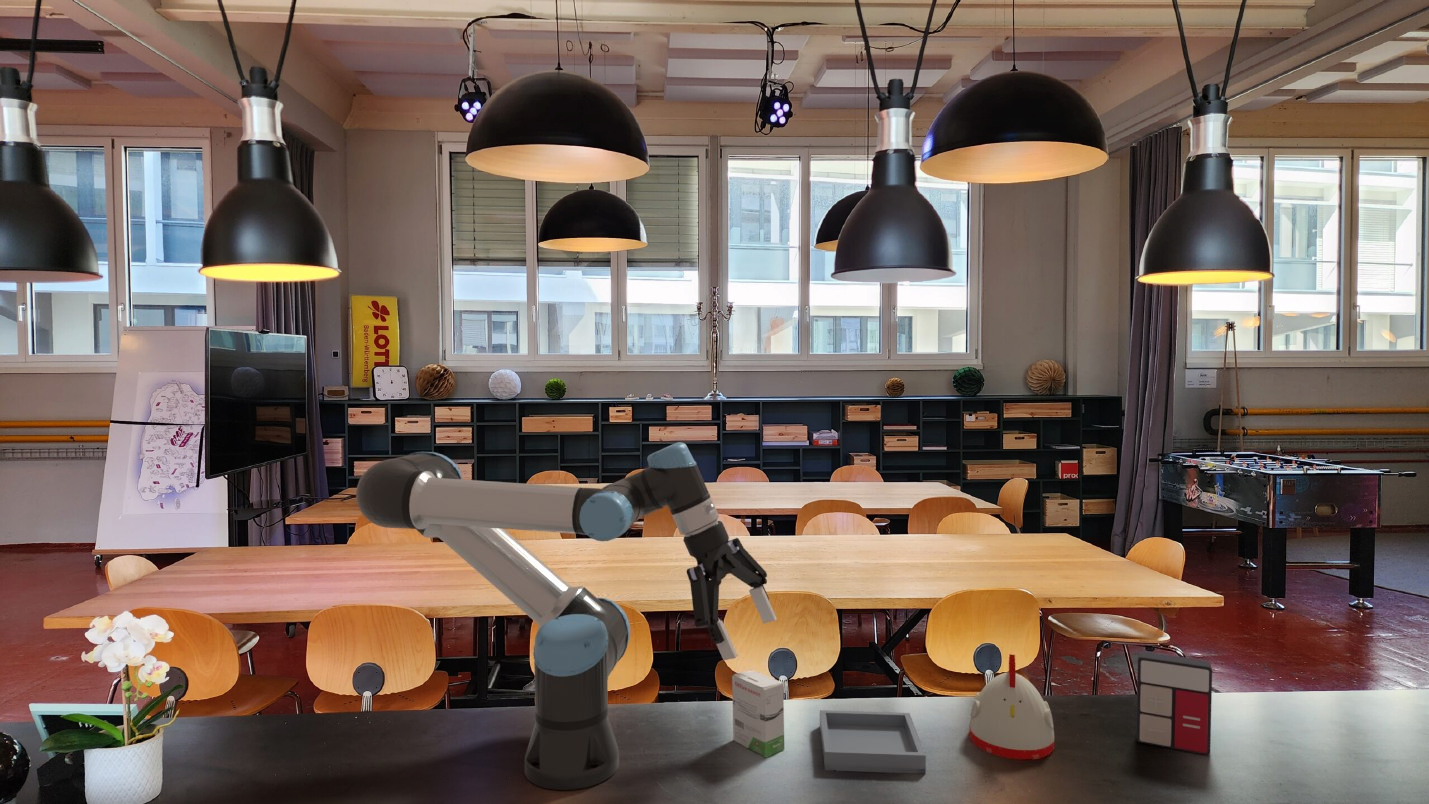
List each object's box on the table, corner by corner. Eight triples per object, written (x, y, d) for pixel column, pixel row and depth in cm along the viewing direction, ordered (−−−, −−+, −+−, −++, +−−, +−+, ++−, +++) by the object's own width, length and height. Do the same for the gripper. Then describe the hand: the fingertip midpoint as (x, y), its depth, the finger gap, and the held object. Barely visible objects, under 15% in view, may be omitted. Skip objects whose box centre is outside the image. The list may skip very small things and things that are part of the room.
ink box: (785, 749, 138) (786, 681, 137) (764, 758, 134) (764, 688, 134) (752, 732, 144) (752, 666, 144) (730, 740, 141) (730, 673, 141)
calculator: (1136, 743, 139) (1137, 658, 139) (1136, 733, 143) (1137, 650, 143) (1210, 757, 134) (1212, 669, 134) (1208, 747, 138) (1210, 660, 138)
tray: (824, 769, 131) (824, 751, 130) (819, 726, 146) (819, 710, 146) (925, 773, 129) (925, 755, 129) (909, 729, 145) (909, 712, 145)
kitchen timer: (968, 752, 137) (969, 665, 136) (970, 718, 150) (971, 639, 149) (1057, 765, 132) (1058, 674, 132) (1051, 729, 145) (1052, 647, 145)
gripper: (674, 550, 129) (729, 672, 129) (753, 498, 149) (801, 603, 149) (642, 560, 133) (695, 678, 133) (723, 508, 153) (769, 610, 153)
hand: (751, 639), depth 141 cm, fingers open, 13 cm apart
